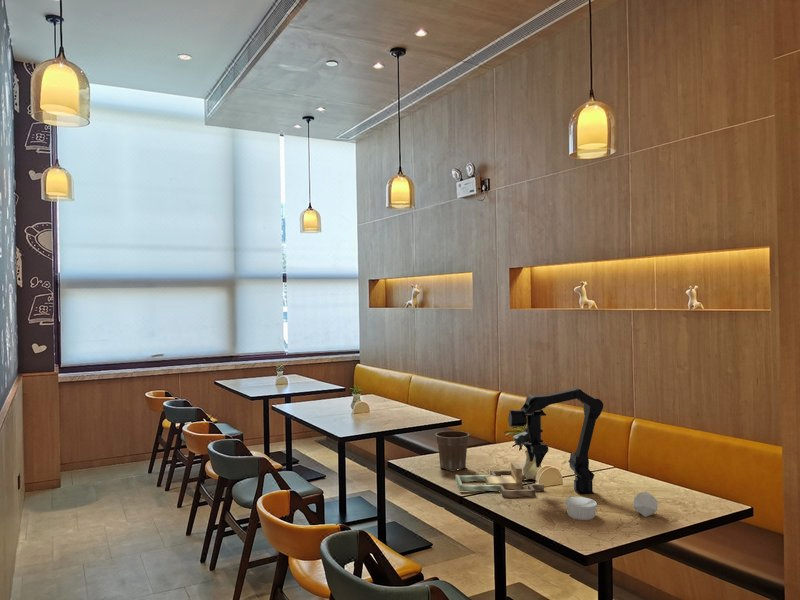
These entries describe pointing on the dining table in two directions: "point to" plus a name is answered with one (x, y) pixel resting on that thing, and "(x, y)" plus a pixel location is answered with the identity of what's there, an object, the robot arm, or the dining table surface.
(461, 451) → the plant pot
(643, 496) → the die
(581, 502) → the ramekin
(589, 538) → the dining table surface
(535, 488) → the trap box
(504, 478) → the beige l-shaped bracket
